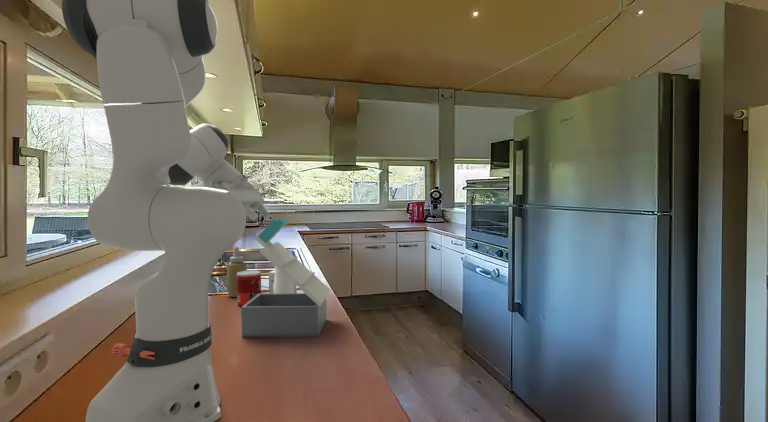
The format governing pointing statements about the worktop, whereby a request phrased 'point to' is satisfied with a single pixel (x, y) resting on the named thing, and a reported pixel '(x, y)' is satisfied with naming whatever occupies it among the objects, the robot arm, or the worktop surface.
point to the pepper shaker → (282, 283)
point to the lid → (291, 263)
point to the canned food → (248, 286)
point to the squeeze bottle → (234, 272)
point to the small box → (271, 282)
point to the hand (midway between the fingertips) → (262, 217)
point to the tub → (282, 316)
